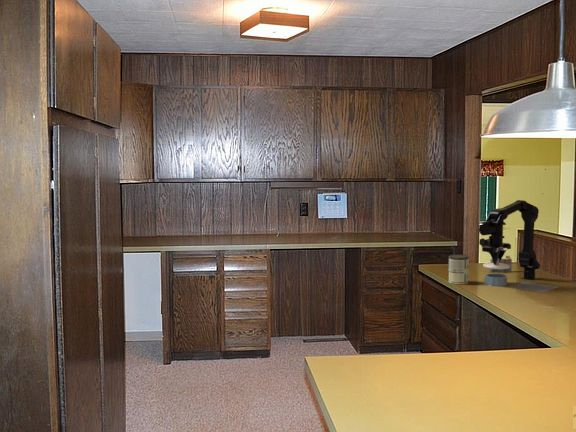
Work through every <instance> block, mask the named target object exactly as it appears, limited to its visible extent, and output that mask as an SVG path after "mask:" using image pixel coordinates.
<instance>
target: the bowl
mask: <svg viewBox="0 0 576 432" xmlns="http://www.w3.org/2000/svg"><path fill="white" fill-rule="evenodd" d="M483 279H484V280H483V281H484V285H486V286H490V287H504V286H507V285H508V275H506V274H504V273H503V274H501V273H486V274H484V278H483Z"/></svg>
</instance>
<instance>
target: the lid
mask: <svg viewBox="0 0 576 432" xmlns="http://www.w3.org/2000/svg"><path fill="white" fill-rule="evenodd" d="M482 267H483V268H485V269H508V268H510V265H508V264H503V263H499V258H498V260H497V263H496V265H495V264H493V263H490V262H486V263H483V264H482Z"/></svg>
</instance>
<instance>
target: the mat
mask: <svg viewBox="0 0 576 432" xmlns="http://www.w3.org/2000/svg"><path fill="white" fill-rule="evenodd" d="M508 288H511V289H518V290H525V291H531V292H535V293H536V292H538V293H545V292H550V291H552V290H555V289H558V288H560V286H557V285H556V286H555V285H551V284H550V285H549V284H543V283H538V282H537V283H535V282H530V281H523V282H520V283H517V284H516V283H515V284H513V285H510V286H509V285H508Z"/></svg>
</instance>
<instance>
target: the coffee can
mask: <svg viewBox="0 0 576 432" xmlns="http://www.w3.org/2000/svg"><path fill="white" fill-rule="evenodd" d="M469 258H470V257H469V255H465V254H449V255H448V283H450V284H453V285H465V284H466V285H467V284H469Z"/></svg>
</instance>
